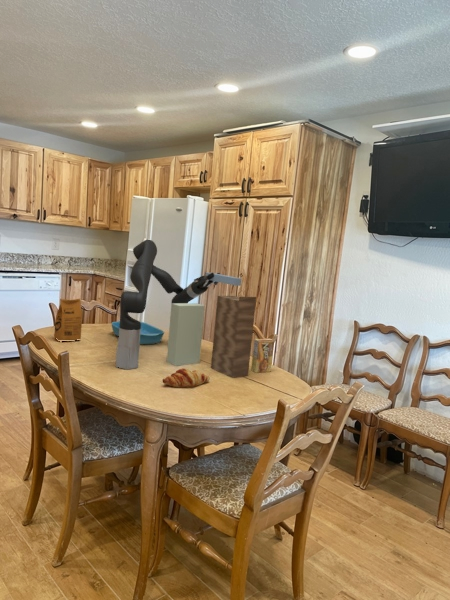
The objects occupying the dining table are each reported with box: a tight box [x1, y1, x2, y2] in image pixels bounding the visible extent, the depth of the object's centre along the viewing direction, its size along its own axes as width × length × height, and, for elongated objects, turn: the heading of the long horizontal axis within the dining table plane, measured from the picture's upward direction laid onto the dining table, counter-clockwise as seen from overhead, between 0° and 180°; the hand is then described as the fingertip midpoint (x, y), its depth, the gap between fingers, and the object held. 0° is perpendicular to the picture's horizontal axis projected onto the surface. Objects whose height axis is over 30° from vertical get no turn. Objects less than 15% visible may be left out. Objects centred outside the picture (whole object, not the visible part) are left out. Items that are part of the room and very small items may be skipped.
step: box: [166, 302, 205, 367], centre depth 200 cm, size 7×14×28 cm, turn 129°
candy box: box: [250, 338, 275, 374], centre depth 199 cm, size 9×4×15 cm, turn 119°
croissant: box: [162, 368, 211, 389], centre depth 171 cm, size 21×10×8 cm, turn 123°
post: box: [210, 295, 257, 379], centre depth 192 cm, size 16×9×36 cm, turn 39°
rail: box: [205, 272, 243, 287], centre depth 198 cm, size 23×3×3 cm, turn 38°
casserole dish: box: [110, 320, 165, 345], centre depth 241 cm, size 37×22×7 cm, turn 38°
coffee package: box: [53, 298, 83, 340], centre depth 221 cm, size 10×12×22 cm
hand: (216, 274), depth 201 cm, fingers closed on rail, 3 cm apart
